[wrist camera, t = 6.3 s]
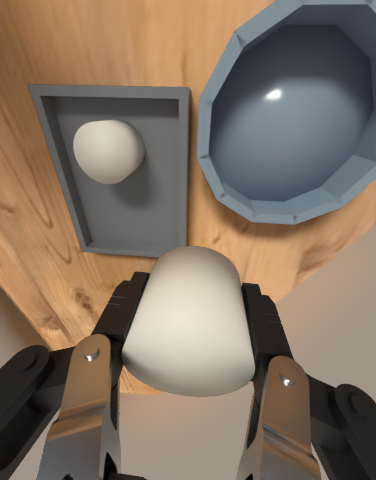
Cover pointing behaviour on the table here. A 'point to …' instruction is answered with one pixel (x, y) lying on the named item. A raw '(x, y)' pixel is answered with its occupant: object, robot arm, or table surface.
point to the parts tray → (134, 185)
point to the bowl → (292, 111)
